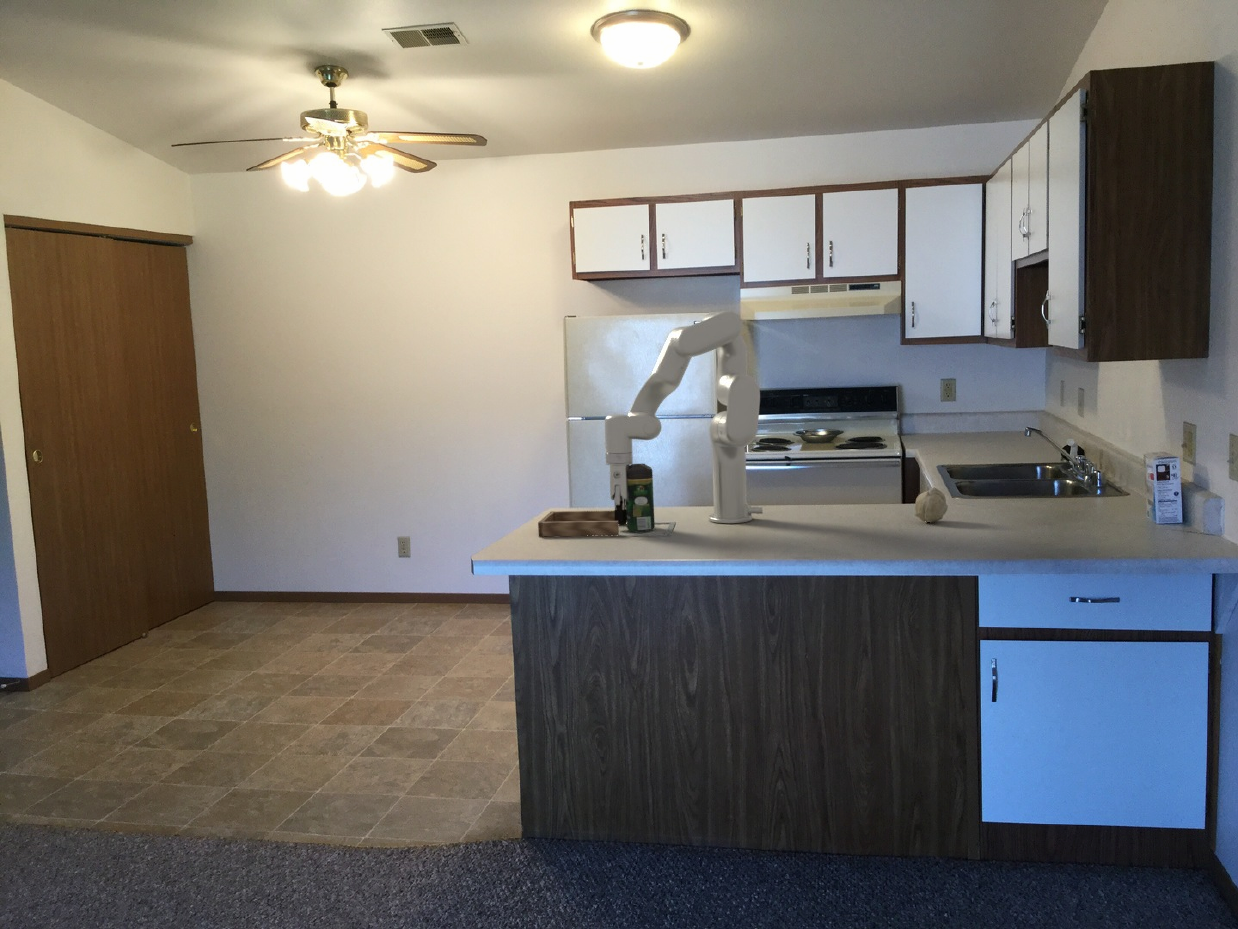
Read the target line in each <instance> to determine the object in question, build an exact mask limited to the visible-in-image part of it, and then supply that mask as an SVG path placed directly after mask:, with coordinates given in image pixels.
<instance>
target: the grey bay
mask: <svg viewBox="0 0 1238 929" xmlns="http://www.w3.org/2000/svg"><path fill="white" fill-rule="evenodd" d="M676 523H677V522H675V521H672V522H671V521H668V522H666V521H665V522H662V521H660V522H656V521H655V525H668V527H667V529H666V532H665V533H661V534H659V533H658V534H654V533H653V534H619V535H618V536H633V537H671V535H672V533H673V530H674V527H675V525H676ZM618 536H617V537H618Z"/></svg>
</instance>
